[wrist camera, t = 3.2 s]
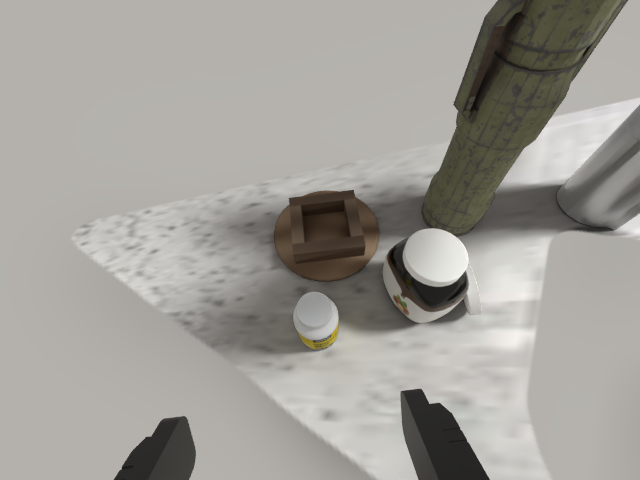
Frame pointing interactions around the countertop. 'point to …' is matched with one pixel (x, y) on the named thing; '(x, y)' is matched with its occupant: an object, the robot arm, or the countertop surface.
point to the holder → (326, 235)
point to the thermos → (510, 98)
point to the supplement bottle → (316, 320)
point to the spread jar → (430, 276)
